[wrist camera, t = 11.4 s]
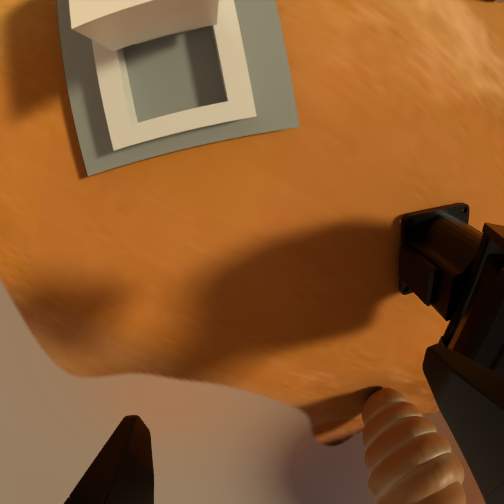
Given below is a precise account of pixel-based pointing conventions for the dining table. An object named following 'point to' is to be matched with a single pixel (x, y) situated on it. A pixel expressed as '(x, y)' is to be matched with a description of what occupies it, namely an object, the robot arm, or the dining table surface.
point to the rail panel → (178, 86)
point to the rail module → (139, 19)
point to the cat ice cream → (407, 454)
